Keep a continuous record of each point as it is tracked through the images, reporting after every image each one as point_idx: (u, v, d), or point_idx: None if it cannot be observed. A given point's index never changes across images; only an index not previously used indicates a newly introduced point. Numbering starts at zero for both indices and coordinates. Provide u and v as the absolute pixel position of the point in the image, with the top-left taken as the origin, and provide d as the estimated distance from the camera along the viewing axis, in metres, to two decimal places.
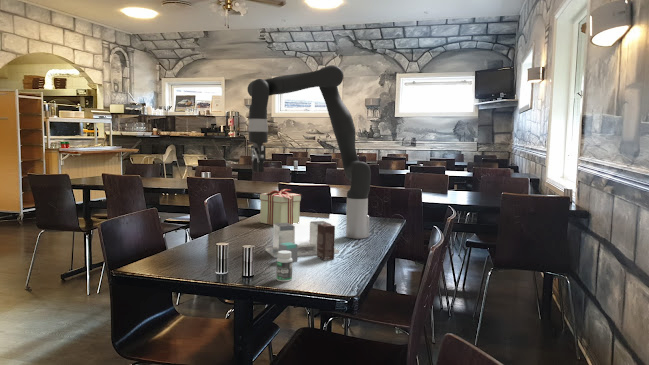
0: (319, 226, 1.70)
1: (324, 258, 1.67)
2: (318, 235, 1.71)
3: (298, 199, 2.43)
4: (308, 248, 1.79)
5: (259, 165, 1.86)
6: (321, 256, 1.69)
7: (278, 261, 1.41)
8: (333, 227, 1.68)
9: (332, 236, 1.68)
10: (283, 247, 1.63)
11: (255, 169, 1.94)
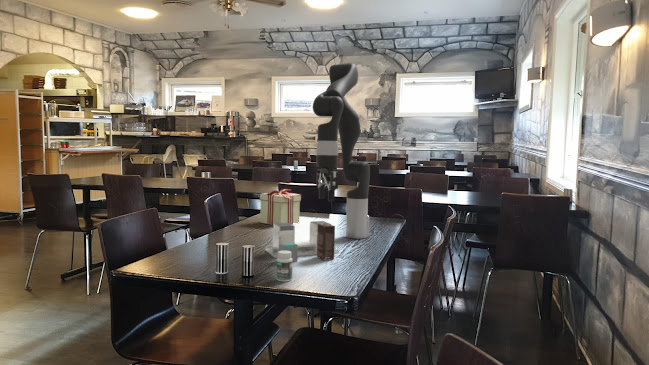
0: (319, 226, 1.70)
1: (324, 258, 1.67)
2: (318, 235, 1.71)
3: (298, 199, 2.43)
4: (308, 248, 1.79)
5: (330, 193, 1.64)
6: (321, 256, 1.69)
7: (278, 261, 1.41)
8: (333, 227, 1.68)
9: (332, 236, 1.68)
10: (283, 247, 1.63)
11: (322, 196, 1.72)
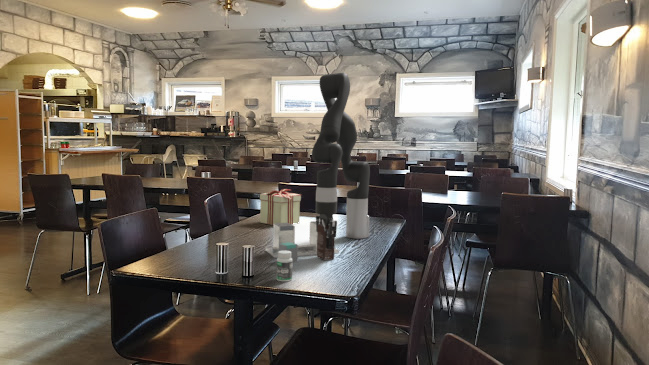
0: (319, 226, 1.70)
1: (324, 258, 1.67)
2: (318, 235, 1.71)
3: (298, 199, 2.43)
4: (308, 248, 1.79)
5: (328, 241, 1.66)
6: (321, 256, 1.69)
7: (278, 261, 1.41)
8: None
9: None
10: (283, 247, 1.63)
11: None
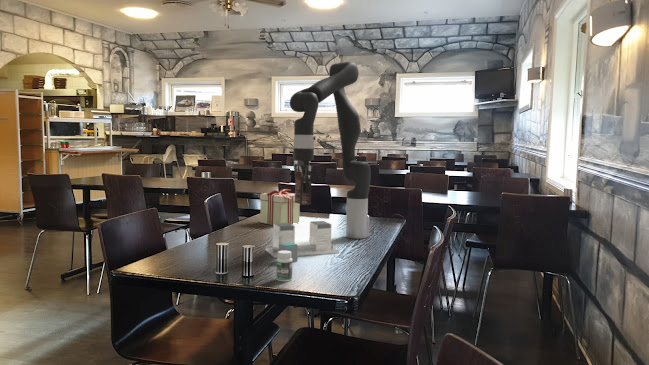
0: (297, 173, 1.78)
1: (301, 202, 1.75)
2: (296, 181, 1.79)
3: None
4: (308, 248, 1.79)
5: (305, 185, 1.74)
6: (298, 200, 1.77)
7: (278, 261, 1.41)
8: None
9: None
10: (283, 247, 1.63)
11: None
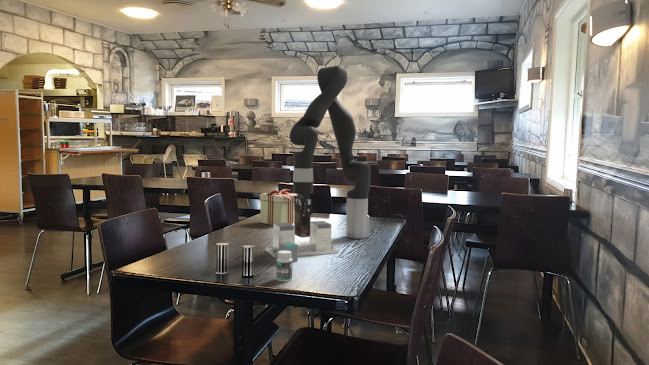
0: (296, 205, 1.79)
1: (300, 235, 1.76)
2: (295, 214, 1.80)
3: None
4: (308, 248, 1.79)
5: (304, 219, 1.75)
6: (297, 233, 1.77)
7: (278, 261, 1.41)
8: None
9: None
10: (283, 247, 1.63)
11: None
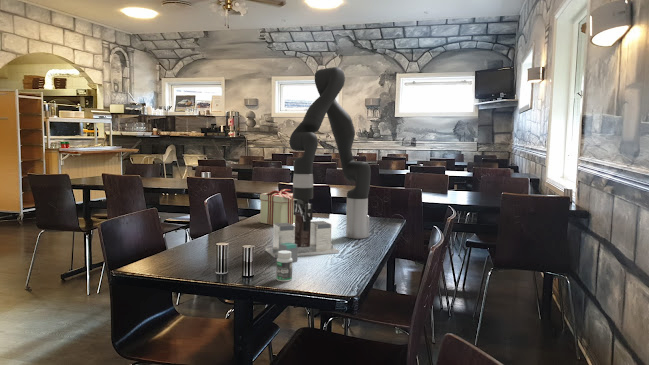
0: (296, 215, 1.80)
1: (300, 245, 1.77)
2: (295, 224, 1.80)
3: None
4: (308, 248, 1.79)
5: (305, 223, 1.74)
6: (297, 243, 1.78)
7: (278, 261, 1.41)
8: None
9: None
10: (283, 247, 1.63)
11: None
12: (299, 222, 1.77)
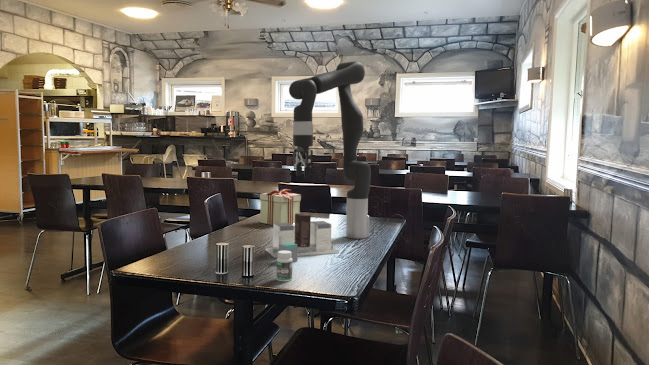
0: (296, 215, 1.80)
1: (300, 245, 1.77)
2: (295, 224, 1.80)
3: (298, 199, 2.43)
4: (308, 248, 1.79)
5: (305, 170, 1.77)
6: (297, 243, 1.78)
7: (278, 261, 1.41)
8: (309, 216, 1.77)
9: (308, 225, 1.77)
10: (283, 247, 1.63)
11: (299, 174, 1.86)
12: (299, 222, 1.77)
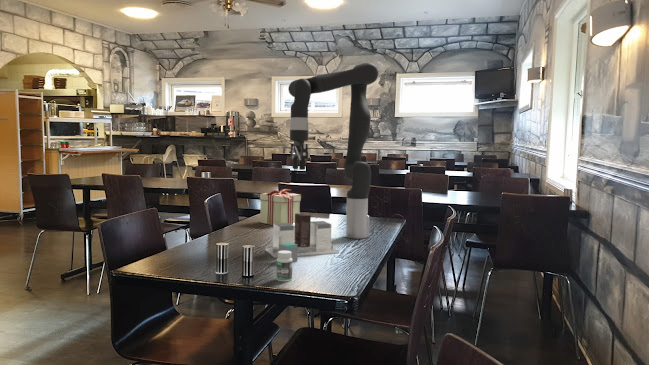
0: (296, 215, 1.80)
1: (300, 245, 1.77)
2: (295, 224, 1.80)
3: (298, 199, 2.43)
4: (308, 248, 1.79)
5: (301, 162, 1.91)
6: (297, 243, 1.78)
7: (278, 261, 1.41)
8: (309, 216, 1.77)
9: (308, 225, 1.77)
10: (283, 247, 1.63)
11: (295, 167, 1.99)
12: (299, 222, 1.77)
